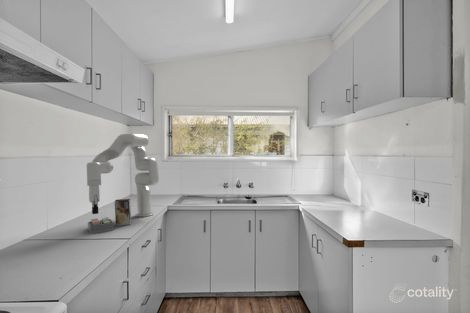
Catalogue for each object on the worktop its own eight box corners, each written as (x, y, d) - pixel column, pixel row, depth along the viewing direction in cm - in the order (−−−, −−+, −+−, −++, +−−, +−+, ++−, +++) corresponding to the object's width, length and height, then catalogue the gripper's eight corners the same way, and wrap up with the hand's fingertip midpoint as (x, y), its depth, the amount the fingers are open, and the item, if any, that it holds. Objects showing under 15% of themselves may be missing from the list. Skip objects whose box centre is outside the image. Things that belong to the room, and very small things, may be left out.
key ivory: (101, 223, 195) (101, 217, 195) (107, 222, 197) (107, 216, 197) (102, 224, 192) (102, 218, 192) (108, 223, 194) (108, 217, 194)
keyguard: (88, 229, 193) (87, 221, 192) (110, 225, 199) (110, 218, 199) (90, 233, 181) (90, 225, 181) (114, 230, 188) (113, 222, 188)
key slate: (91, 224, 192) (90, 219, 192) (97, 223, 194) (97, 218, 194) (91, 225, 189) (91, 220, 189) (98, 225, 191) (98, 219, 191)
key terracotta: (92, 226, 187) (92, 220, 187) (98, 225, 189) (98, 220, 188) (93, 227, 184) (92, 221, 184) (99, 226, 185) (99, 221, 185)
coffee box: (131, 222, 207) (130, 198, 207) (130, 224, 201) (129, 200, 200) (117, 223, 205) (116, 199, 205) (115, 226, 199) (114, 200, 199)
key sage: (103, 227, 190) (103, 221, 190) (109, 226, 192) (109, 220, 192) (104, 228, 187) (104, 222, 187) (110, 227, 189) (110, 221, 189)
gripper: (85, 182, 190) (87, 212, 190) (88, 184, 177) (89, 216, 177) (99, 181, 194) (100, 211, 194) (102, 183, 181) (104, 214, 181)
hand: (95, 213), depth 186 cm, fingers closed
